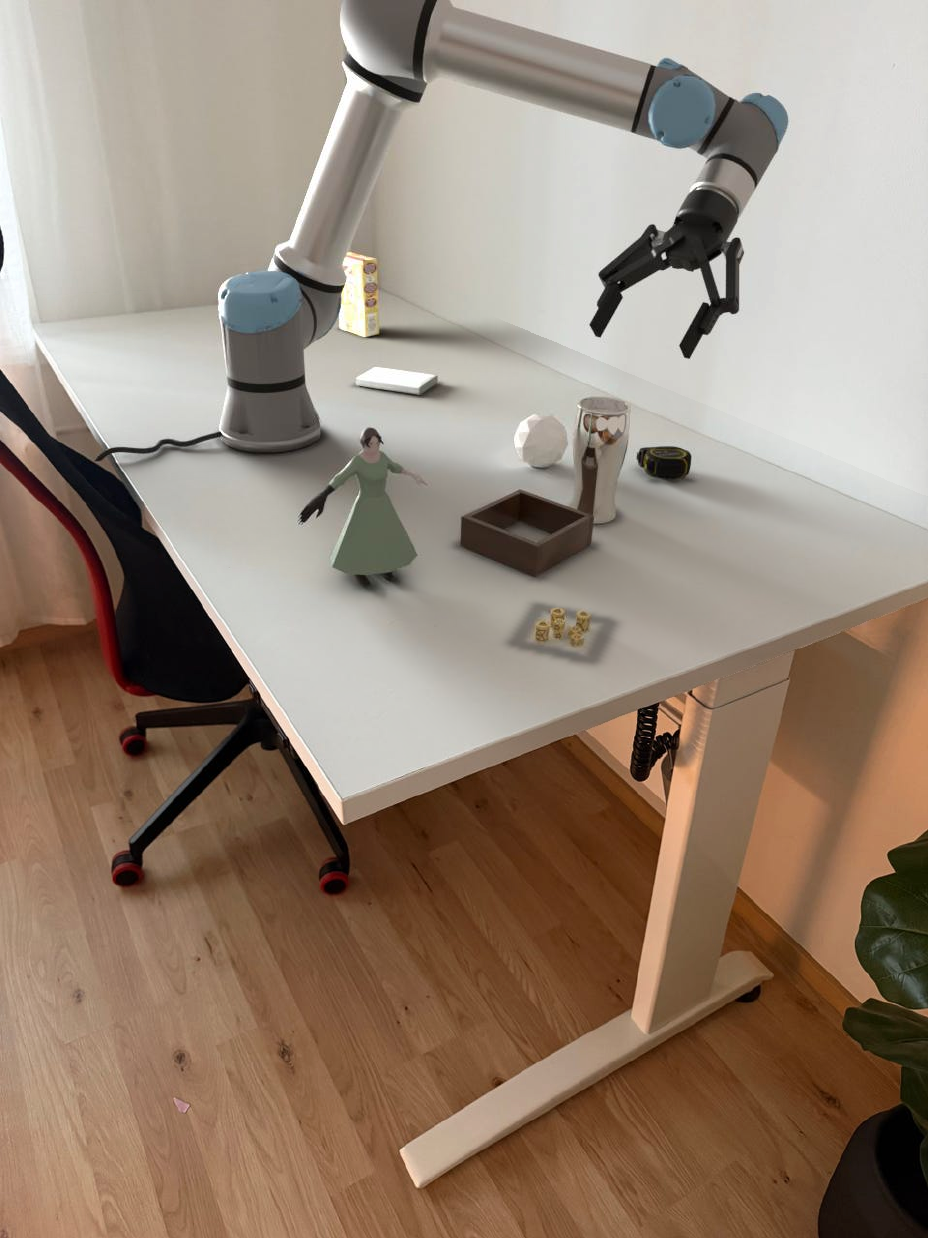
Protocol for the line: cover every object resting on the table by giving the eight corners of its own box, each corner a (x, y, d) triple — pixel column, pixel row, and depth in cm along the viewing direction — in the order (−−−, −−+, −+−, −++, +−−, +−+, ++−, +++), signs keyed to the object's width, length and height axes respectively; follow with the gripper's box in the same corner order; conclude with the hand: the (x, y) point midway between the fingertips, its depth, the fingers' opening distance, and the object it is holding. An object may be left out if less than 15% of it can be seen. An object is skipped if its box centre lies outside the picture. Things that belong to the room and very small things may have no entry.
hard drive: (419, 396, 166) (356, 386, 170) (437, 383, 172) (376, 373, 176) (419, 387, 165) (355, 377, 169) (437, 374, 171) (376, 365, 175)
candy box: (380, 334, 200) (378, 258, 192) (364, 337, 197) (362, 260, 189) (353, 326, 205) (351, 251, 197) (338, 329, 203) (335, 253, 195)
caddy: (535, 577, 110) (537, 546, 108) (460, 545, 117) (461, 516, 115) (591, 544, 118) (594, 515, 116) (518, 517, 124) (519, 488, 122)
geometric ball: (534, 476, 143) (543, 425, 144) (573, 473, 137) (583, 420, 138) (498, 460, 138) (508, 408, 139) (538, 457, 132) (548, 402, 133)
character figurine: (318, 612, 102) (308, 455, 93) (288, 580, 108) (277, 429, 99) (445, 578, 109) (448, 430, 100) (410, 550, 115) (410, 407, 106)
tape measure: (678, 465, 141) (681, 441, 139) (696, 483, 136) (700, 459, 134) (634, 467, 140) (637, 443, 138) (650, 485, 134) (654, 461, 133)
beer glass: (617, 528, 122) (631, 416, 114) (563, 522, 123) (573, 410, 116) (620, 506, 128) (633, 398, 120) (569, 501, 129) (579, 393, 121)
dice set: (532, 641, 99) (533, 625, 98) (546, 618, 103) (548, 602, 102) (579, 652, 97) (581, 636, 96) (591, 628, 101) (593, 612, 100)
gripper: (807, 238, 121) (731, 378, 119) (640, 214, 135) (570, 339, 133) (798, 197, 115) (718, 344, 113) (625, 175, 129) (550, 306, 127)
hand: (638, 341), depth 123 cm, fingers open, 13 cm apart
